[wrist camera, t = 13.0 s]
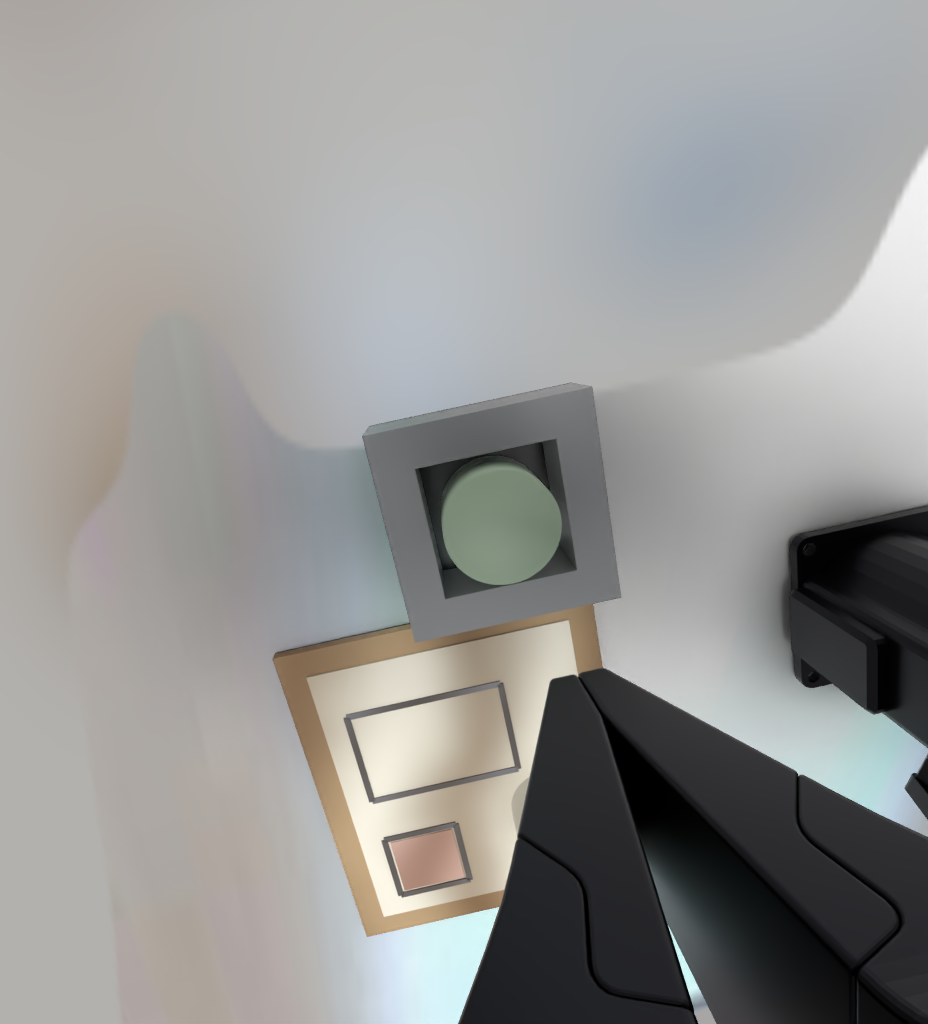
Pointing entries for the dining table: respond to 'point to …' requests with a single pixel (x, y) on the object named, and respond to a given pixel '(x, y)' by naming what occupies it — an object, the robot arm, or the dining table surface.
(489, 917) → the dining table surface
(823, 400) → the dining table surface
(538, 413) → the button housing
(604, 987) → the robot arm
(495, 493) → the button
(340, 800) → the drawing board
